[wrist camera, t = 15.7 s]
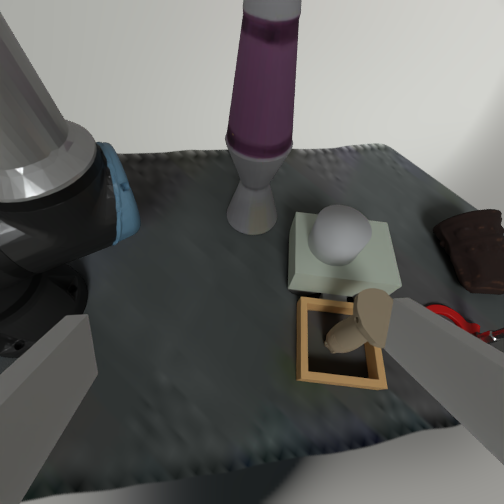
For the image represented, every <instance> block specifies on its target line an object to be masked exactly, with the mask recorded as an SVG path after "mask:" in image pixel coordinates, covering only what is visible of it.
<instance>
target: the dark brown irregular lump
mask: <svg viewBox="0 0 504 504" xmlns="http://www.w3.org/2000/svg"><path fill="white" fill-rule="evenodd" d="M501 214H502V213H501V212H500V211H499V210H495V209H487V210H477V211H471V212H467V213H463V214H459V215H456V216H453V217H451V218H448V219H446V220H444V221H442V222H441V223H439V224H438V225H436V226H435V227H434V228H433V233H434V234H435V235H436V237H437V238H438V239H440V245H441V246H442V247H443V248H445V251H446V253H447V254H449V255H450V257H451V258H450V261H451V263H452V264H453V266H454V270H455V272H456V275H457V278H458V280H459V282H460V284H461V285H462V286H463V287H464V288H465V289H466V290H467V291H469V292H470V293H482V294H498V295H500V294H504V236H503V233H504V229H503V227H502V226H501V221H502V218H501Z"/></svg>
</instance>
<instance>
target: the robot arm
mask: <svg viewBox="0 0 504 504" xmlns="http://www.w3.org/2000/svg"><path fill="white" fill-rule="evenodd" d="M140 224H141V221H140V215H139V211H138V207H137V204H136V201H135V198H134V195H133V192H132V190H131V188H130V186H129V182H128V180H127V176H126V174H125V171H124V169H123V166H122V164H121V162H120V160H119V157H118V155H117V153H116V152H115V150H114V148H113V147H112V146H111V145H110V144H109V143H102V142H95V140H94V138H93V137H92V135H91V134H90V133H89V132H88V131H87V130H86V129H85V128H83V127H81V126H80V125H78V124H76V123H73V122H71V121H68V120H65V119H64V118H63V116H62V115H61V113H60V111H59V110H58V108H57V106H56V104H55V103H54V101H53V99H52V98H51V96H50V94H49V93H48V91H47V89H46V88H45V86H44V84H43V83H42V81H41V79H40V78H39V76H38V74H37V73H36V71H35V69H34V68H33V66H32V64H31V63H30V61H29V59H28V58H27V56H26V54H25V53H24V51H23V49H22V48H21V46H20V44H19V43H18V41H17V39H16V38H15V36H14V34H13V32H12V31H11V29H10V27H9V26H8V24H7V23H6V21H5V19H4V18H3V16H2V14H1V12H0V356H2V357H8V358H18V357H19V358H18V359H17V360H16V361H15V362H14V363H13V364H12V365H11V366H9V367H8V368H7V369H6V370H5V371H4V372H3V373H2V374H0V504H20V502H21V500H22V499H23V497H24V495H25V494H26V492H27V490H28V489H29V487H30V485H31V484H32V482H33V481H34V479H35V477H36V476H37V474H38V472H39V471H40V469H41V467H42V466H43V464H44V462H45V461H46V459H47V457H48V456H49V454H50V452H51V451H52V449H53V447H54V446H55V444H56V442H57V441H58V439H59V437H60V436H61V434H62V433H63V431H64V429H65V428H66V426H67V424H68V423H69V421H70V419H71V418H72V416H73V414H74V413H75V411H76V409H77V408H78V406H79V404H80V403H81V401H82V399H83V398H84V396H85V394H86V393H87V391H88V390H89V388H90V386H91V385H92V383H93V381H94V380H95V378H96V376H97V375H98V371H97V365H96V359H95V353H94V347H93V341H92V335H91V329H90V323H89V317H88V314H84V315H82V313H83V311H84V309H85V306H86V302H87V287H86V283H85V281H84V279H83V278H82V277H81V275H80V274H79V273H77V272H76V271H75V270H74V269H73V268H71V267H70V266H68V265H67V264H65V263H68V262H70V261H73V260H76V259H78V258H81V257H83V256H86V255H89V254H91V253H94V252H96V251H99V250H102V249H104V248H107V247H109V246H112V245H116V244H117V243H118V242H119V241H121V240H124V239H126V238H128V237H130V236H132V235H134V234H135V233H137V232H138V230H139V228H140ZM385 350H386V351H387V352H388V353H389V354H390V355H391V356H392V357H393V358H394V359H395V360H396V361H397V362H398V363H399V364H400V365H401V366H402V367H403V368H404V369H405V370H406V371H407V372H408V373H409V374H410V375H411V376H412V377H413V378H414V379H416V380H417V381H418V382H419V383H420V384H421V385H422V386H423V387H424V388H425V389H426V390H427V391H428V392H429V393H430V394H431V395H432V396H433V397H434V398H435V399H436V400H437V401H438V402H439V403H440V404H441V405H442V406H443V407H444V408H445V409H447V410H448V411H449V412H450V413H451V414H452V415H453V416H454V417H455V418H456V419H457V420H458V421H459V422H460V423H461V424H462V425H463V426H464V427H465V428H466V429H467V430H468V431H469V432H470V433H471V434H472V435H473V436H474V437H475V438H476V439H478V440H479V441H480V442H481V443H482V444H483V445H484V446H485V447H486V448H487V449H488V450H489V451H490V452H491V453H492V454H493V455H494V456H495V457H496V458H497V459H498V460H499V461H500V462H501V463H502V464H503V465H504V353H503V352H501V351H499V350H497V349H496V348H494V347H492V346H491V345H489V344H487V343H485V342H484V341H482V340H480V339H479V338H477V337H475V336H473V335H472V334H470V333H468V332H467V331H465V330H463V329H461V328H460V327H458V326H456V325H455V324H453V323H451V322H449V321H448V320H446V319H444V318H443V317H441V316H439V315H437V314H436V313H434V312H432V311H431V310H429V309H427V308H425V307H424V306H422V305H420V304H419V303H417V302H415V301H413V300H412V299H410V298H394V301H393V306H392V311H391V317H390V322H389V327H388V333H387V338H386V344H385Z"/></svg>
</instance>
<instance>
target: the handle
mask: <svg viewBox="0 0 504 504" xmlns="http://www.w3.org/2000/svg"><path fill="white" fill-rule="evenodd" d="M393 301H394V300H393V299H392V298H391V297H390V296H389V295H388V294H387V293H386V292H385V291H383V290H381V289H377V288H369V289H365V290H362V291H361V292H360V293H359V294H357V295H356V296H355V299H354V304H353V315H351V316H350V317H348V318H346V319H344V320H342V321H340V322H339V323H337V324H336V325H335V326H334V327H333V328H332V329H331V330H330V331H329V332H328V333H327V335H326V340H325V341H324V345H325V346H326V347H327V348H328V349H329V350H330V352H331V353H333V354H334V353H345V352H349V351H352V350H354V349H356V348H358V347H360V346H361V345H363V344H364V343H366V342H367V341H368V342H369V343H370V344H371V345H373V346H375V347H378V348H385V344H386V338H387V333H388V327H389V322H390V317H391V311H392V306H393Z"/></svg>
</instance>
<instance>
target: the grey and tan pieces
mask: <svg viewBox="0 0 504 504" xmlns="http://www.w3.org/2000/svg"><path fill="white" fill-rule="evenodd" d="M401 286H402V284H401V280H400V276H399V271H398V267H397V263H396V259H395V254H394V250H393V246H392V241H391V237H390V233H389V229H388V224H387V223H385V222H377V221H369V220H367V218H366V217H365V216H364V215H363V214H362V213H360V212H359V211H358V210H356V209H354V208H352V207H349V206H345V205H331V206H328V207H325V208H324V209H322V210H321V211H320V213H319V214H310V213H302V212H296V213H295V216H294V219H293V222H292V226H291V229H290V232H289V264H288V290H289V291H290V292H291V293H293V294H296V295H312V294H315V293H322V294H321V295H320V296H319V298H320V299H317V298H309V297H300V299H299V300H298V302H297V364H296V380H299V381H307V382H316V383H324V384H332V385H341V386H349V387H358V388H366V389H374V390H380V389H388V388H387V382H386V376H385V370H384V364H383V357H382V351H381V348H378V347H375V346H373V345H371V344H370V343H369V342H368V341H367V342H366V343H364V345H365V353H366V360H367V368H368V376H369V379H368V378H360V377H352V376H343V375H335V374H327V373H318V372H310V371H308V330H307V310H314V311H322V312H331V313H339V314H347V315H353V304H354V303H351V302H347V297H346V296H351V297H352V299H353V300H354V299H355V296H356V295H357V294H359V293H360V292H361V291H362V290H365V289H369V288H377V289H381V290H383V291H385V292H386V293H387V294H388V295H390V294H391V293H392V292H394V291H395V290H397V289H398V288H400V287H401Z"/></svg>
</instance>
